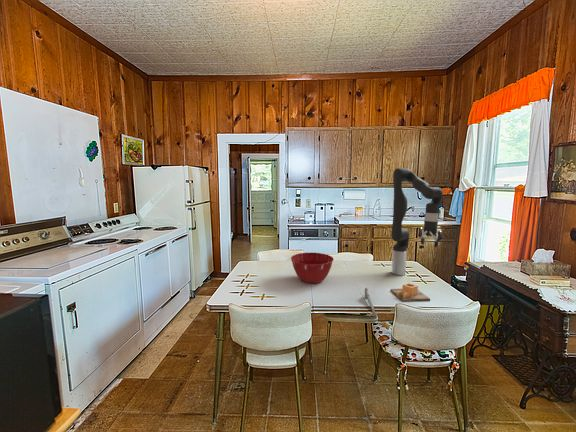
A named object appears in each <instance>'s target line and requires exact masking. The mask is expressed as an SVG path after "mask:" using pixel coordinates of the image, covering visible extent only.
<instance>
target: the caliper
mask: <svg viewBox="0 0 576 432" xmlns="http://www.w3.org/2000/svg"><path fill="white" fill-rule="evenodd" d="M368 290H369V288H368V287H365V288H364V298H365V299H366V300H367V301H368V304H369V306H370V309H371V311H372V313H376V312H375V307H374V305H373V302H372V299H371V297H370V294H369V291H368Z"/></svg>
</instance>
